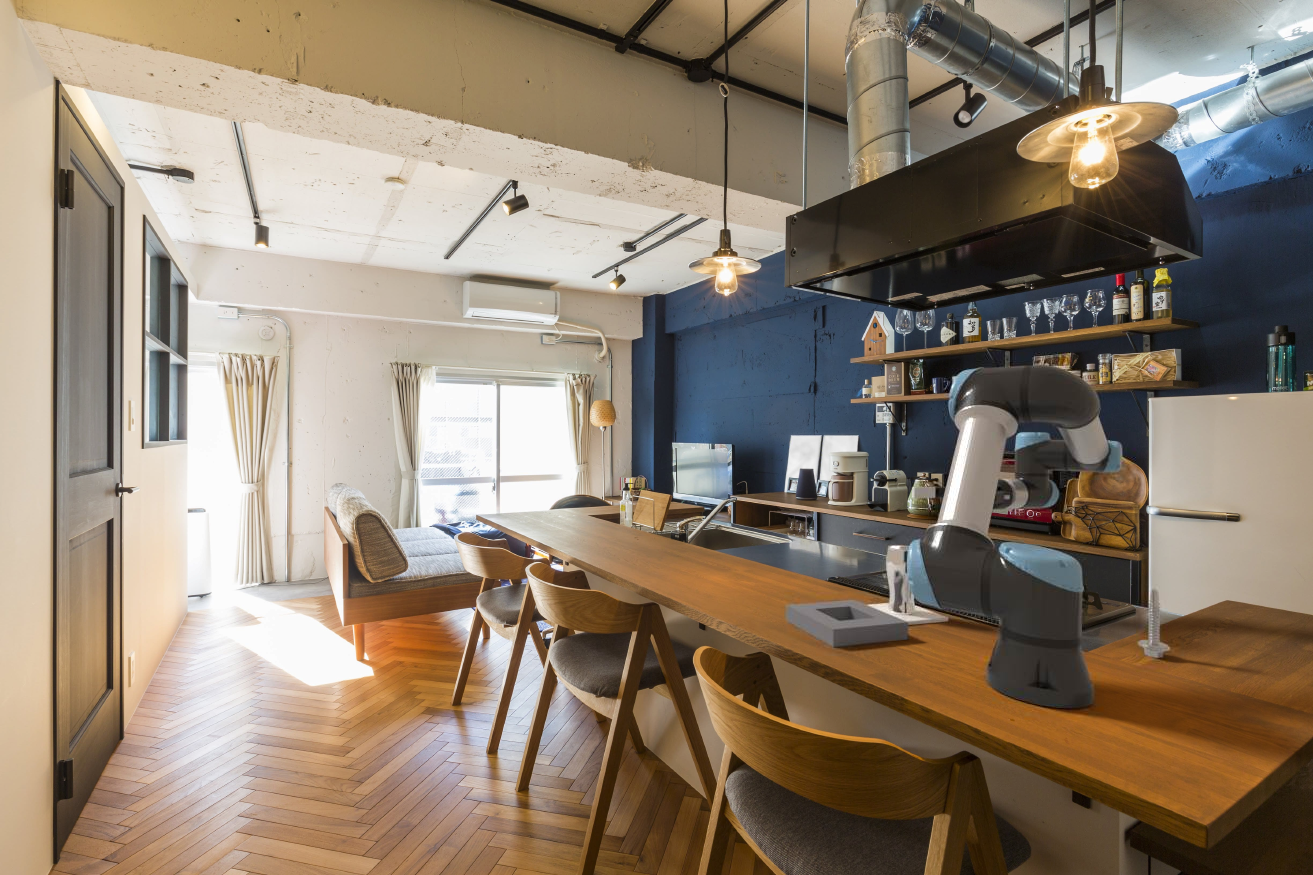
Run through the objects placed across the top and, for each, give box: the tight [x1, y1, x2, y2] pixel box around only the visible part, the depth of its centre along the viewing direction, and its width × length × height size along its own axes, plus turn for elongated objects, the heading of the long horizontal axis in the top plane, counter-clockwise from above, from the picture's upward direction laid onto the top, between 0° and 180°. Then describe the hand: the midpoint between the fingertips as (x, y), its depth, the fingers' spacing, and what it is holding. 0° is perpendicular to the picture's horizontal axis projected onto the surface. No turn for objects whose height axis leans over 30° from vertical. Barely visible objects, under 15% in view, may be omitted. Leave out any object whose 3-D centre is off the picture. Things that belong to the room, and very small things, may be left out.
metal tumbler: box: [886, 544, 916, 615], centre depth 144 cm, size 7×7×15 cm
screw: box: [1137, 588, 1171, 659], centre depth 119 cm, size 13×5×5 cm
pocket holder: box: [785, 599, 909, 648], centre depth 132 cm, size 18×18×4 cm
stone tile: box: [867, 602, 949, 626], centre depth 144 cm, size 14×14×1 cm
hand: (933, 495), depth 146 cm, fingers open, 13 cm apart
